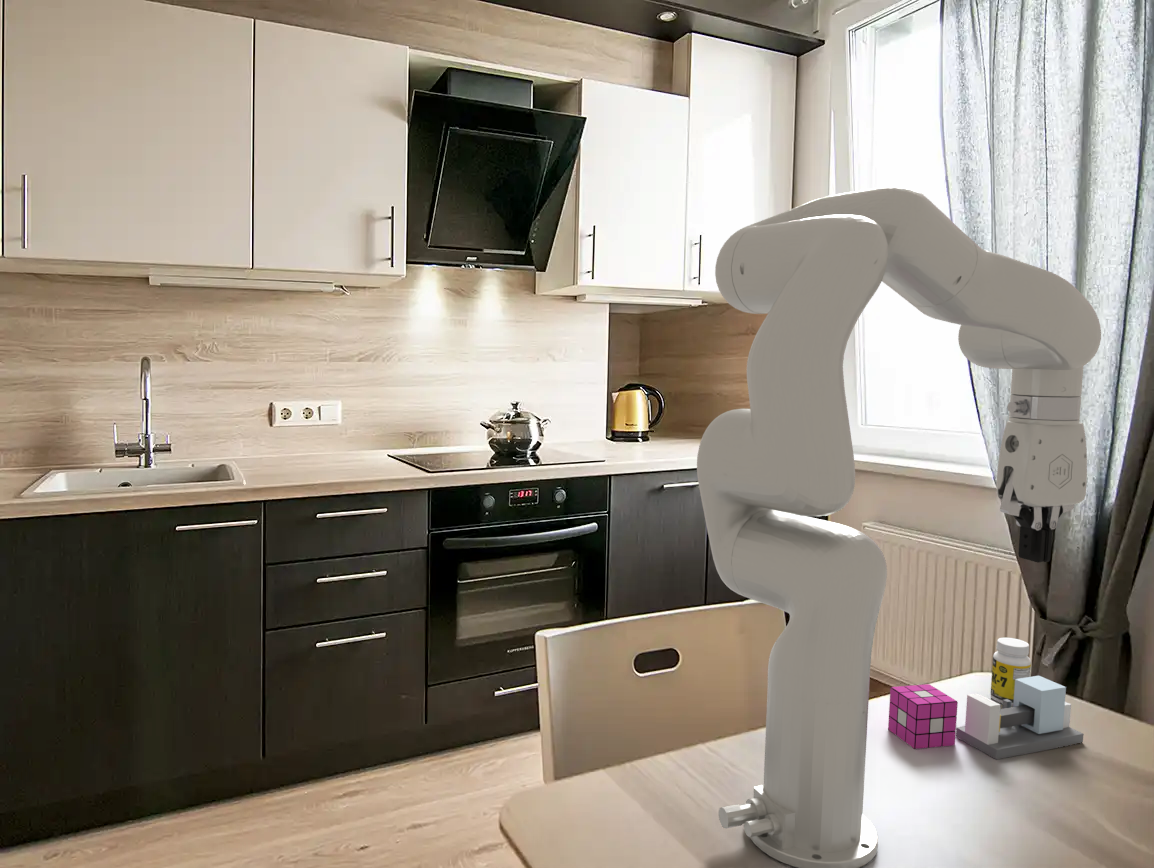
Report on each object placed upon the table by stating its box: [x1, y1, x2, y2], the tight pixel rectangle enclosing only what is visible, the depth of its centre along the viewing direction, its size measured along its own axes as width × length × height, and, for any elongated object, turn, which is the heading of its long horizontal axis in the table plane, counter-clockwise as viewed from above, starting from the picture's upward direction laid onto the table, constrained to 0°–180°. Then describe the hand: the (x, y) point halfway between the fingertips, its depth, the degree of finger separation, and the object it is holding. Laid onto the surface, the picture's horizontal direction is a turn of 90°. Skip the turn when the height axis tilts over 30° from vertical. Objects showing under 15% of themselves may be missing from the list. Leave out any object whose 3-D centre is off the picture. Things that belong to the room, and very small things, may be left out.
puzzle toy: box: [887, 683, 958, 750], centre depth 108 cm, size 6×6×6 cm
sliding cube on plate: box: [955, 692, 1084, 760], centre depth 108 cm, size 14×6×6 cm, turn 110°
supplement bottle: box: [990, 637, 1032, 707], centre depth 120 cm, size 5×5×8 cm
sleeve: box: [1012, 675, 1067, 734], centre depth 108 cm, size 4×4×6 cm
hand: (1033, 559), depth 106 cm, fingers closed
